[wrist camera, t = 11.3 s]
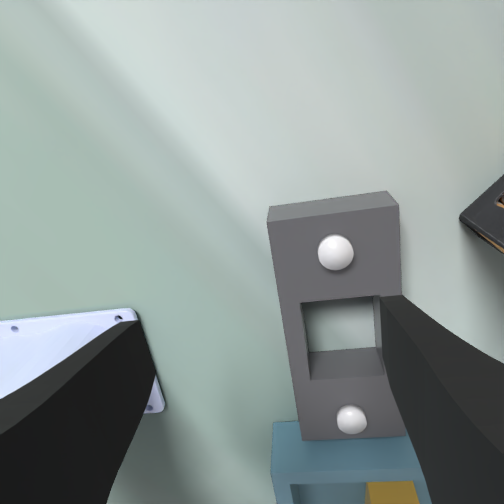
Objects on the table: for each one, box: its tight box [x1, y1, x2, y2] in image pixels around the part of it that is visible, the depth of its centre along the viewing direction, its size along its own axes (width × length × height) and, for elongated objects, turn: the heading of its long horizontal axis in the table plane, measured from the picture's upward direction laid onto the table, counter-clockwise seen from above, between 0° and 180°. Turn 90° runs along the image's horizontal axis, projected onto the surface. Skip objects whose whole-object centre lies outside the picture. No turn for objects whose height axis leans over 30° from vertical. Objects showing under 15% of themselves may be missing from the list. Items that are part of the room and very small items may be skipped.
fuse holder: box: [267, 191, 406, 441], centre depth 22 cm, size 6×14×3 cm, turn 10°
